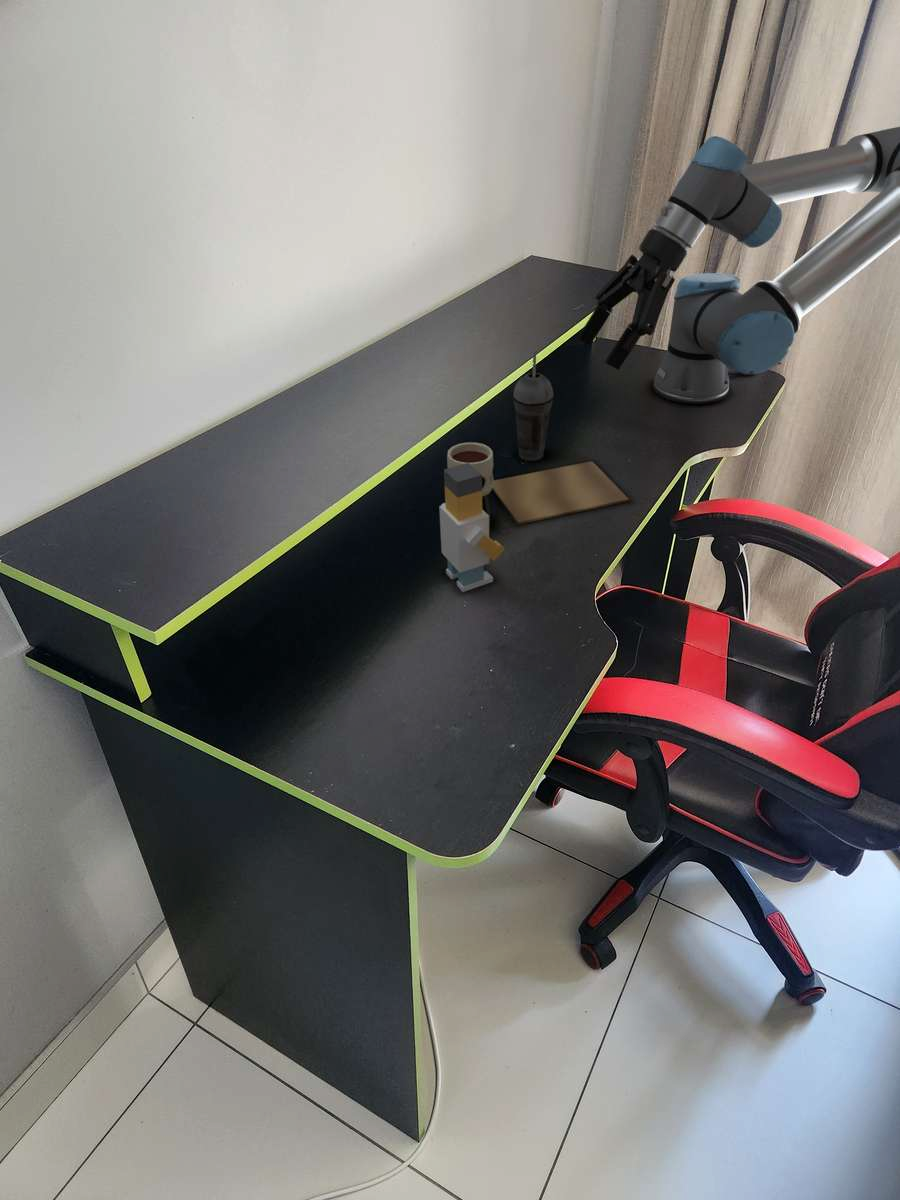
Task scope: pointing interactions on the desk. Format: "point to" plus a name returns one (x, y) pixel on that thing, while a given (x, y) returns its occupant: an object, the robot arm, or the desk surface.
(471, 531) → the character figure
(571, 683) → the desk surface
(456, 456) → the character mug
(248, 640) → the desk surface
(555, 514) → the cork mat
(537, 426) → the beverage cup
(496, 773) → the desk surface
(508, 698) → the desk surface
